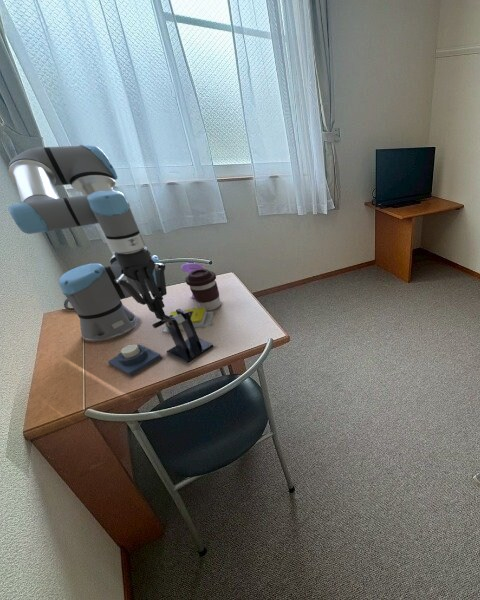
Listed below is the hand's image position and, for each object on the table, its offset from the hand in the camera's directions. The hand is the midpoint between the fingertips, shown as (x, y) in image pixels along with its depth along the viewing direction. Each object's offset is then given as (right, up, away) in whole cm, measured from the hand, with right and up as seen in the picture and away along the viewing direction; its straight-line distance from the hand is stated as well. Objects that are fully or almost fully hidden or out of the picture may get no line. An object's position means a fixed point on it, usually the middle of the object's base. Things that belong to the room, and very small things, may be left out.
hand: (161, 317), depth 101 cm
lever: (+5, -2, -2) cm, 5 cm away
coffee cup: (+1, +3, +25) cm, 25 cm away
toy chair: (-7, +9, +34) cm, 36 cm away
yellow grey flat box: (-1, -3, +15) cm, 16 cm away
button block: (-6, -14, -3) cm, 15 cm away
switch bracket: (+8, -11, +2) cm, 14 cm away
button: (-6, -11, -5) cm, 13 cm away
